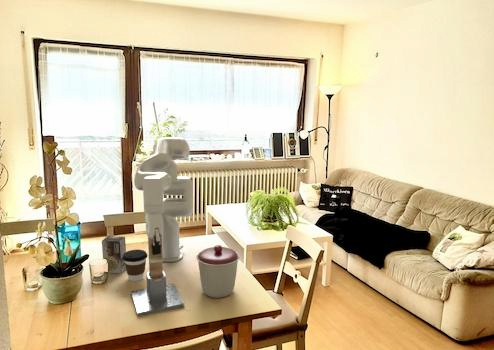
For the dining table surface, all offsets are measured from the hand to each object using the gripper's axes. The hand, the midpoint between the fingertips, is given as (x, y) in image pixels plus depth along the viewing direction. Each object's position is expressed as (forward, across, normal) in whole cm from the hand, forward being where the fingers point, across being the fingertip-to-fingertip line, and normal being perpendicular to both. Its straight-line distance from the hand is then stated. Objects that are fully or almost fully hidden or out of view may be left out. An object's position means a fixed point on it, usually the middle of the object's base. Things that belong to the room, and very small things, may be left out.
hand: (155, 251), depth 152 cm
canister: (+22, +3, +26) cm, 34 cm away
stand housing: (+21, 0, 0) cm, 21 cm away
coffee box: (+22, -35, -13) cm, 43 cm away
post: (+11, 0, 0) cm, 11 cm away
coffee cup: (+22, -23, -5) cm, 32 cm away
